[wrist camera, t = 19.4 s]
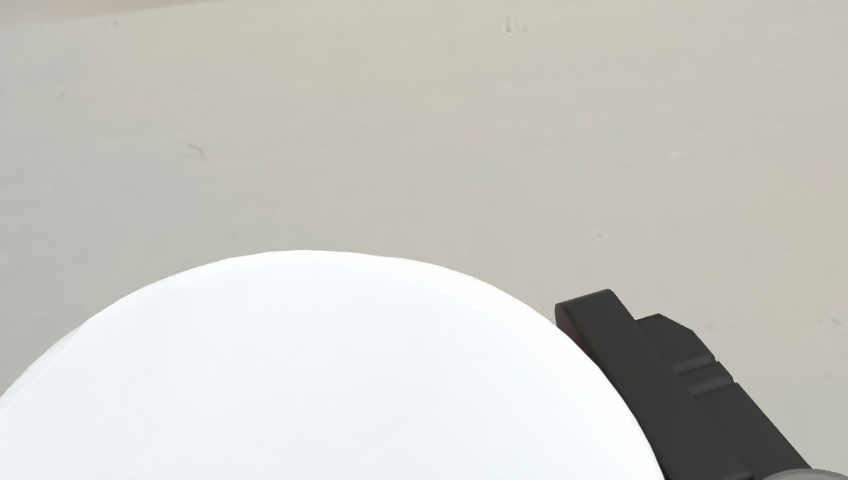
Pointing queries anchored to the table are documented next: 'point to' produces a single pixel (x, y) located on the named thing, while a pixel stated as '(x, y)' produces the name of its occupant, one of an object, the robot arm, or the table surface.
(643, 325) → the robot arm
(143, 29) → the table surface
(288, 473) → the pill bottle
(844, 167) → the table surface
